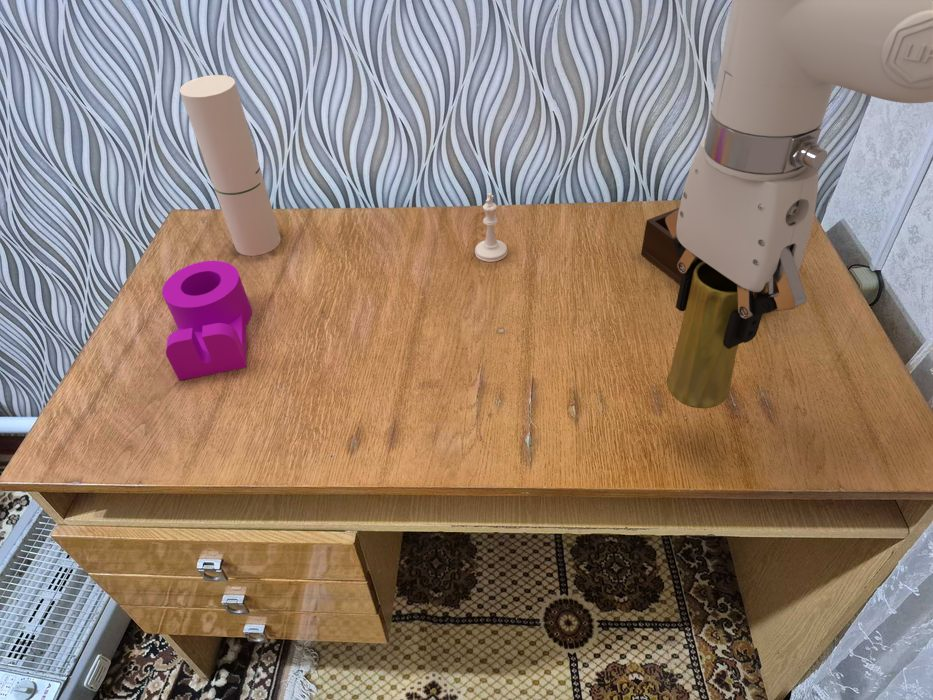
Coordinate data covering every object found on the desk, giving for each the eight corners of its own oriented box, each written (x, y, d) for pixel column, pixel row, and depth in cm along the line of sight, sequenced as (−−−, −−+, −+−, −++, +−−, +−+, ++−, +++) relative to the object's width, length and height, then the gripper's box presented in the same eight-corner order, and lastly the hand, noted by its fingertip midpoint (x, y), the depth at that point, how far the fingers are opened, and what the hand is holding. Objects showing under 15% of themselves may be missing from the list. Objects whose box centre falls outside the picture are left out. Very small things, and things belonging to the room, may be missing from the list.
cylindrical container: (286, 230, 107) (242, 74, 90) (272, 256, 102) (223, 97, 84) (244, 229, 108) (192, 75, 90) (228, 255, 103) (170, 97, 85)
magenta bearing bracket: (181, 303, 95) (165, 268, 90) (251, 290, 96) (239, 255, 92) (172, 381, 83) (154, 346, 79) (252, 366, 85) (238, 330, 80)
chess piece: (469, 257, 99) (465, 199, 92) (483, 239, 102) (481, 182, 95) (498, 265, 97) (497, 206, 90) (512, 247, 101) (512, 189, 94)
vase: (714, 419, 64) (747, 305, 54) (655, 393, 67) (676, 281, 57) (738, 380, 67) (773, 267, 58) (681, 357, 70) (705, 246, 60)
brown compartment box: (688, 235, 101) (696, 201, 96) (777, 298, 89) (790, 262, 85) (640, 254, 98) (646, 219, 94) (726, 321, 86) (737, 285, 82)
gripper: (899, 170, 44) (818, 362, 57) (714, 87, 55) (681, 263, 68) (819, 204, 42) (753, 397, 54) (643, 111, 53) (622, 288, 66)
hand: (713, 321), depth 61 cm, fingers closed on vase, 5 cm apart
